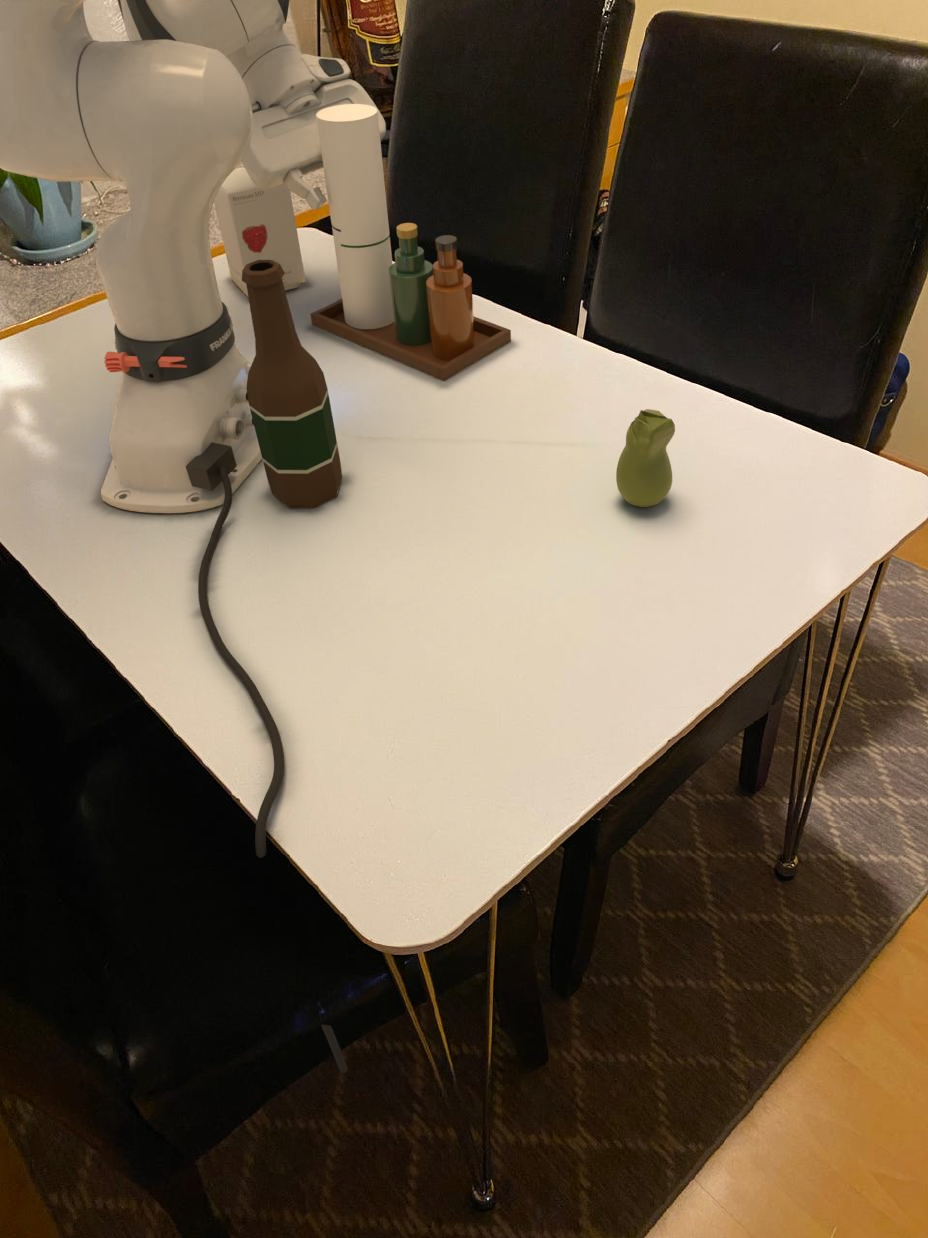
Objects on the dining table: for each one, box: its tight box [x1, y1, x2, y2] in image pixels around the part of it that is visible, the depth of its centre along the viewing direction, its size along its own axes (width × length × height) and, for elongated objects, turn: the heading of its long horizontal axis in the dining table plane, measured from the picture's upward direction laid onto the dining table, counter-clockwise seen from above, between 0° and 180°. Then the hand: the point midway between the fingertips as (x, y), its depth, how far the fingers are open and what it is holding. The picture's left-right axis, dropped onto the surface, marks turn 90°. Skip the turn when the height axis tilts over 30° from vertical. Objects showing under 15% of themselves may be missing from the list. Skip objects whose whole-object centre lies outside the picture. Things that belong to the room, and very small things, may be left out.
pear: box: [615, 408, 676, 508], centre depth 87 cm, size 6×5×10 cm
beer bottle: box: [242, 260, 343, 509], centre depth 87 cm, size 8×8×24 cm
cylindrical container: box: [316, 104, 394, 329], centre depth 113 cm, size 7×7×25 cm
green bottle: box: [389, 222, 433, 346], centre depth 113 cm, size 6×6×14 cm
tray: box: [310, 298, 512, 382], centre depth 118 cm, size 25×13×2 cm, turn 47°
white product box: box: [213, 166, 307, 298], centre depth 128 cm, size 9×9×15 cm
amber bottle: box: [426, 234, 475, 361], centre depth 109 cm, size 6×6×14 cm
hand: (348, 193), depth 112 cm, fingers open, 8 cm apart
